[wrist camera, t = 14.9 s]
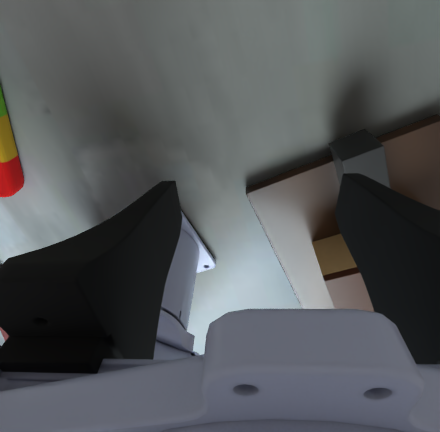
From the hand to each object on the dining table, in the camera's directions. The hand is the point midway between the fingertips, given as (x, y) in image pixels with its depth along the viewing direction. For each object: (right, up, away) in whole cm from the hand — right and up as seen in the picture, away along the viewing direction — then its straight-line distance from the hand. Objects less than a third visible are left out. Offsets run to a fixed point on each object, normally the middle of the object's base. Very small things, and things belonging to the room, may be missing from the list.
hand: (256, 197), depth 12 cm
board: (+11, -3, +13) cm, 17 cm away
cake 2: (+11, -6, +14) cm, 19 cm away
